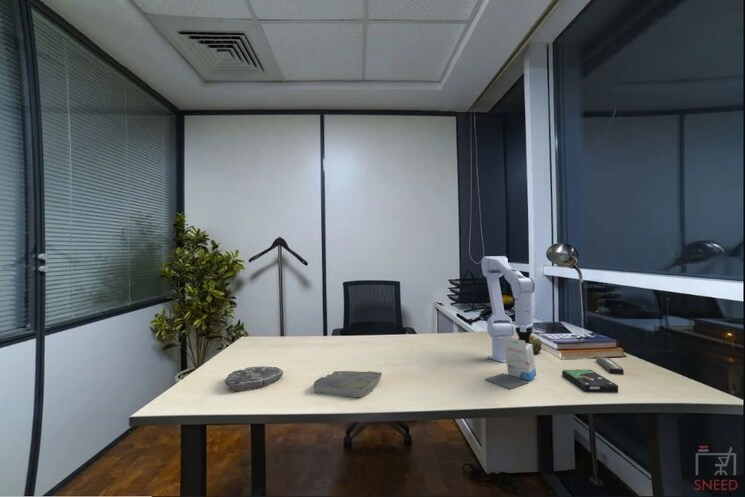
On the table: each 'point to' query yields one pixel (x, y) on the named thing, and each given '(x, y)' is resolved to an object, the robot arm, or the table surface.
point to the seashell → (535, 343)
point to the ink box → (519, 358)
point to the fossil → (347, 383)
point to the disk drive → (590, 381)
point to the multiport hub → (609, 365)
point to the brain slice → (253, 378)
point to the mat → (506, 381)
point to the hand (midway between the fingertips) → (524, 348)
